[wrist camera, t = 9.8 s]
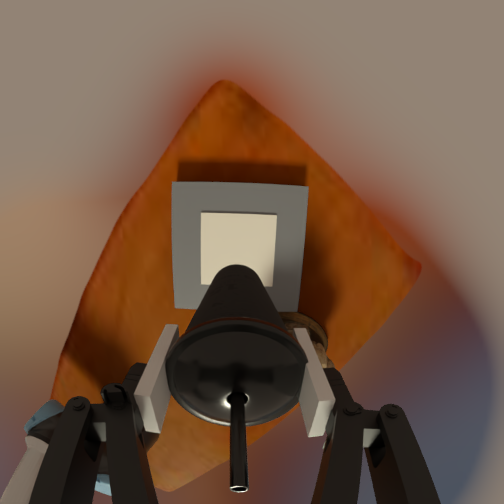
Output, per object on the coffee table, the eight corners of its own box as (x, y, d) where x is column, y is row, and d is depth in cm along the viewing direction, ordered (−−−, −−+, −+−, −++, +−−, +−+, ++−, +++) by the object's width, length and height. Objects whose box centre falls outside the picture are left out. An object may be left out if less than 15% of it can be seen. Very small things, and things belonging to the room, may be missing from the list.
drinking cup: (290, 298, 27) (367, 481, 7) (225, 334, 27) (217, 523, 8) (250, 233, 25) (289, 395, 5) (182, 275, 26) (91, 454, 6)
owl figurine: (226, 343, 48) (221, 409, 32) (256, 291, 46) (264, 346, 30) (307, 373, 51) (327, 435, 34) (340, 328, 49) (375, 384, 32)
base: (178, 300, 46) (174, 308, 42) (176, 181, 41) (171, 181, 38) (294, 304, 47) (297, 312, 43) (303, 186, 42) (308, 186, 39)
